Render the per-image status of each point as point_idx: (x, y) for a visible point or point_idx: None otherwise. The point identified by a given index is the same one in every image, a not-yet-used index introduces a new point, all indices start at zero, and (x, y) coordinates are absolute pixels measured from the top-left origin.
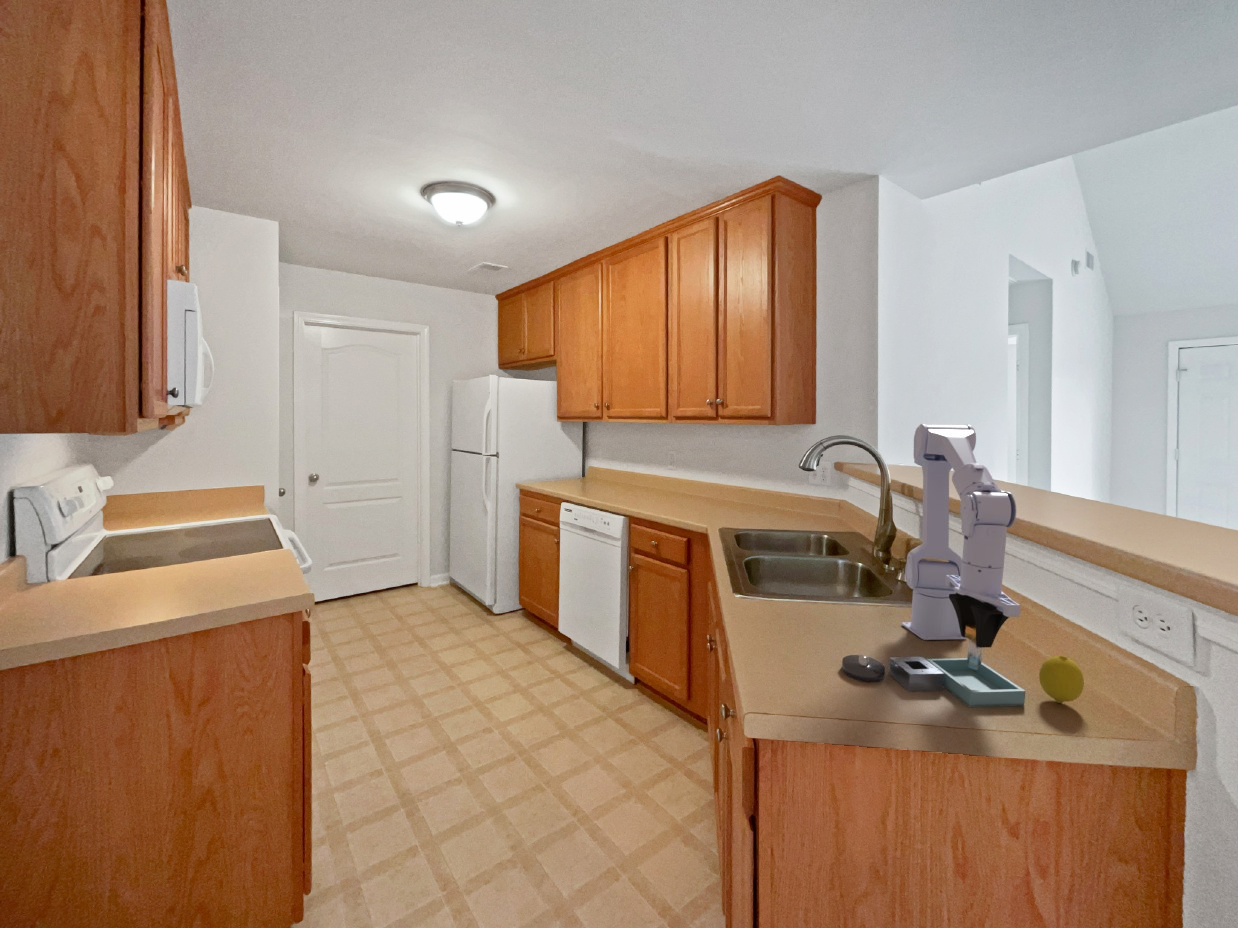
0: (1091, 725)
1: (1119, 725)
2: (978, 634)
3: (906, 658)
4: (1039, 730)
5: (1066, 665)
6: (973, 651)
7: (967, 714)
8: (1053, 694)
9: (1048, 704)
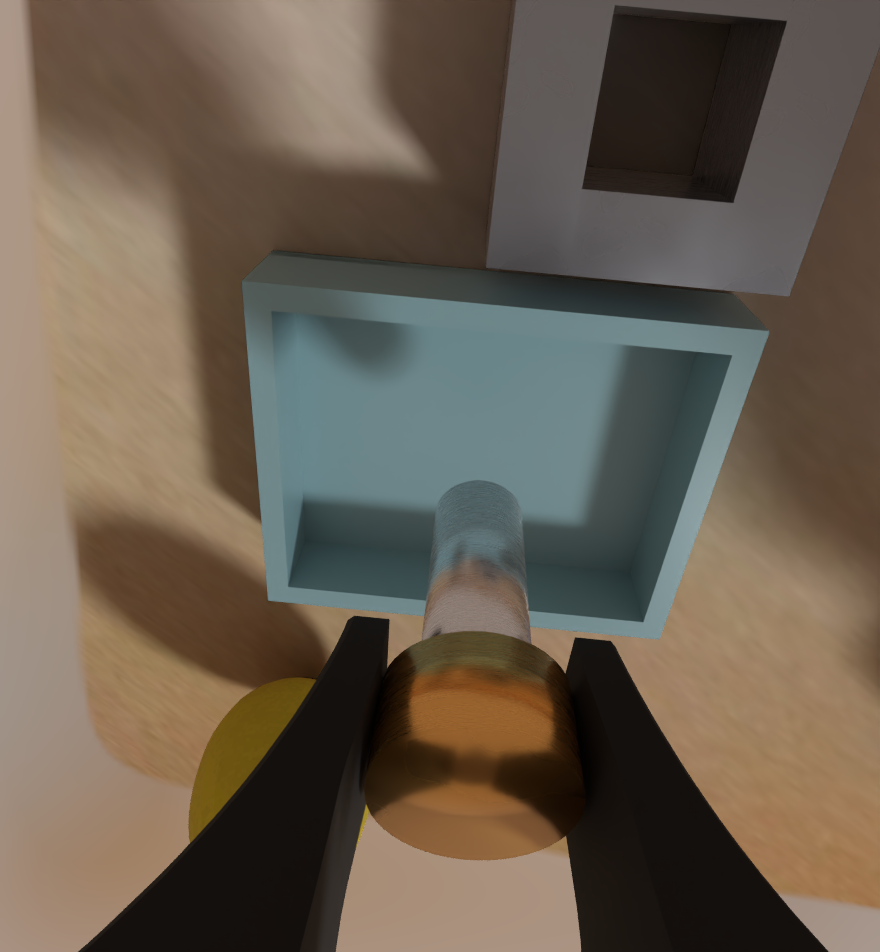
0: (145, 656)
1: (157, 729)
2: (316, 707)
3: (825, 109)
4: (69, 442)
5: None
6: (447, 575)
7: (186, 166)
8: (264, 686)
9: (299, 640)
